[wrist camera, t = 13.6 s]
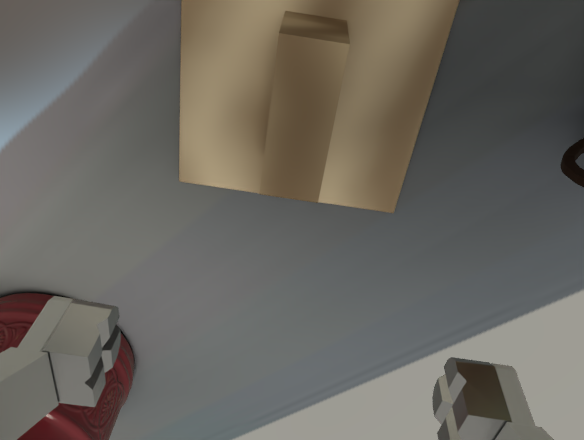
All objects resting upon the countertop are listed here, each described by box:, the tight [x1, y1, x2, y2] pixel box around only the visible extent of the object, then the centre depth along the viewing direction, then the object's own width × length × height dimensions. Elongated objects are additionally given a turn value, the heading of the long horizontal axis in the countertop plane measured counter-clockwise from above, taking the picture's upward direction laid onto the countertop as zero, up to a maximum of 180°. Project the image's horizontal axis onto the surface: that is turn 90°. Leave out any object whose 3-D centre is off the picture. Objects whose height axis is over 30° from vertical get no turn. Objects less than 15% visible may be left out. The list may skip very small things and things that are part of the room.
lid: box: [179, 0, 459, 213], centre depth 26 cm, size 13×13×5 cm
